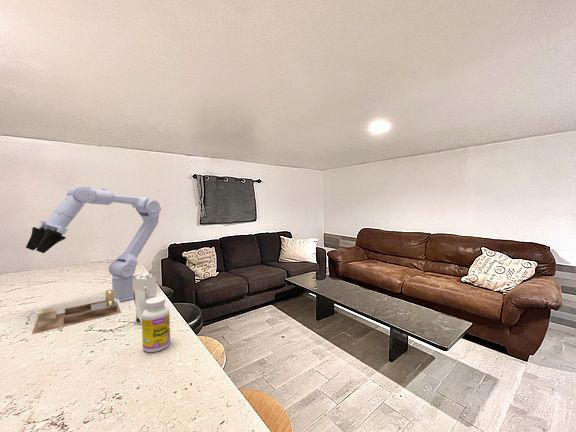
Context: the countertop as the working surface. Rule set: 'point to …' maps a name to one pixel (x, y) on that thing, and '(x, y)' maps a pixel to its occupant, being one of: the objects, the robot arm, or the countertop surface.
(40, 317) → the block
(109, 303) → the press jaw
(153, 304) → the supplement bottle
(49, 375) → the countertop surface
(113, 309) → the press board
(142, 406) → the countertop surface
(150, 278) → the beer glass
